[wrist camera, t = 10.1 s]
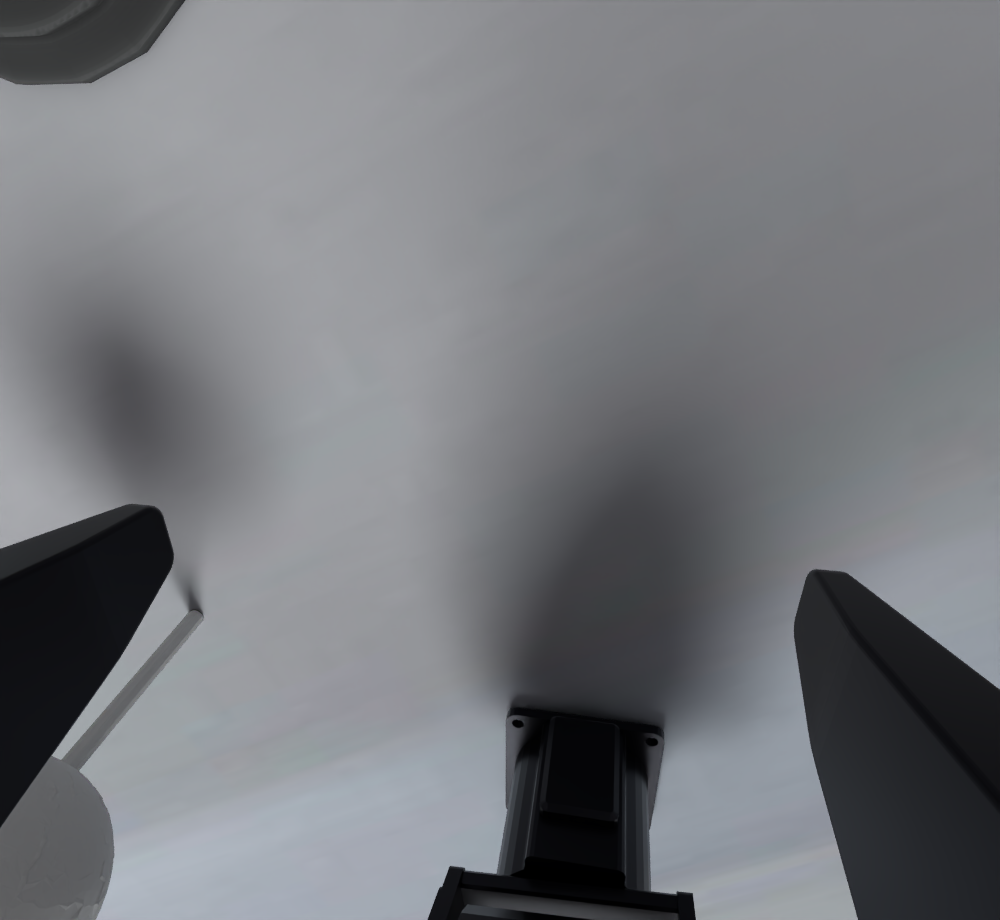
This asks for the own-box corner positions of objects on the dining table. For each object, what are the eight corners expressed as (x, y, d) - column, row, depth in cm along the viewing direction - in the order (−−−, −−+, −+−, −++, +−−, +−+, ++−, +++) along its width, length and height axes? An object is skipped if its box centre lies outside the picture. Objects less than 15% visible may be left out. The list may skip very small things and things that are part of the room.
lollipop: (109, 532, 27) (-365, 921, 14) (272, 570, 27) (-64, 1011, 14) (130, 655, 31) (-235, 1059, 18) (275, 691, 30) (9, 1134, 17)
